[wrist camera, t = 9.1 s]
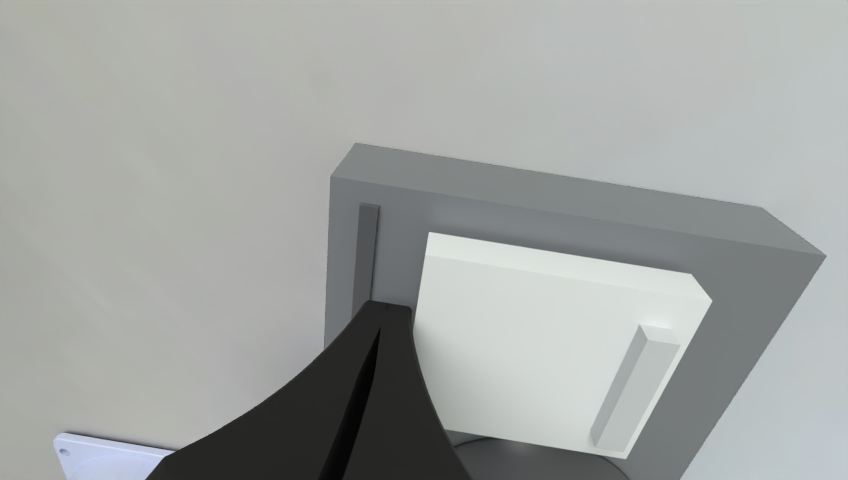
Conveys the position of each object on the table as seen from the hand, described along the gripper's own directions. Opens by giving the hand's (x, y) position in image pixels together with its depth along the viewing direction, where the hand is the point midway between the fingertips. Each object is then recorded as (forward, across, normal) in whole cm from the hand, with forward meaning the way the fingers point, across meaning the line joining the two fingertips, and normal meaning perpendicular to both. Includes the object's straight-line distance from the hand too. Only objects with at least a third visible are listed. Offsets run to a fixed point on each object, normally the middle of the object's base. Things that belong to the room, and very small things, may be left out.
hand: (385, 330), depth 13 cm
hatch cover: (+1, -4, 0) cm, 4 cm away
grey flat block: (+4, -4, +4) cm, 7 cm away
